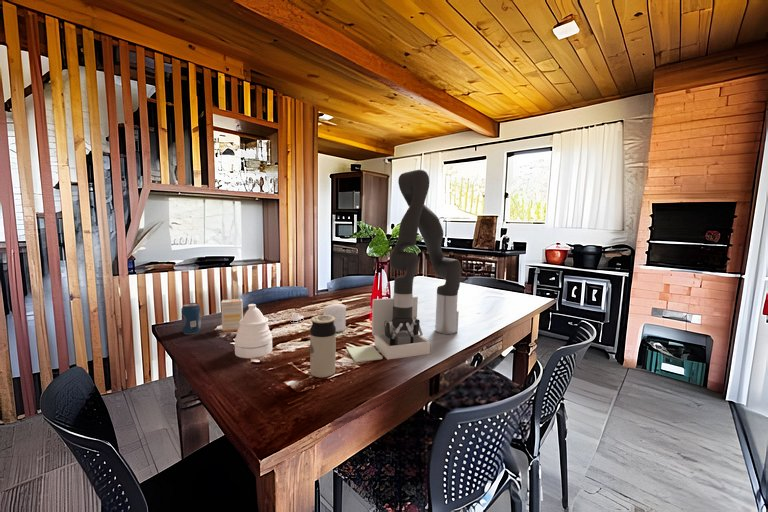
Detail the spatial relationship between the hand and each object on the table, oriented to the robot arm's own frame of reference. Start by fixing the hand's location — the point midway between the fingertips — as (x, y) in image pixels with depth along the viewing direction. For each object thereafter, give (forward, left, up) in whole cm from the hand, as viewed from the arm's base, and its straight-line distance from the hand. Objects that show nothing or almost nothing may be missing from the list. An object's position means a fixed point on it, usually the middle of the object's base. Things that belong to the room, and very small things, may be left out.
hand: (401, 346), depth 127 cm
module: (0, 0, -1) cm, 1 cm away
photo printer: (+20, -28, -2) cm, 34 cm away
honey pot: (+53, -15, -2) cm, 55 cm away
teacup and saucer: (+32, -47, -2) cm, 57 cm away
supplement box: (+62, -43, -1) cm, 75 cm away
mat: (+15, 0, -1) cm, 15 cm away
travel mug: (+32, +10, -1) cm, 34 cm away
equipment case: (0, 0, -1) cm, 1 cm away
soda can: (+78, -44, -1) cm, 90 cm away
